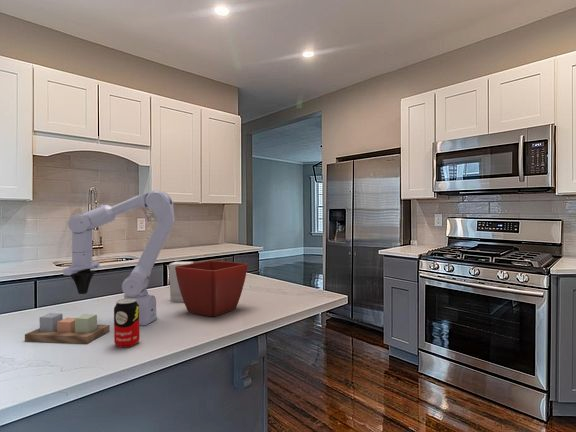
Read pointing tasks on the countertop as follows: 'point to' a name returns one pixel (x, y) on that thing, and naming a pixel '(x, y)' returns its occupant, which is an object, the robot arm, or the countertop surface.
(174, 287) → the skincare box
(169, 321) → the countertop surface
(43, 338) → the board
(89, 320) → the sage block
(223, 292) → the plant pot
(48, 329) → the slate block
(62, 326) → the terracotta block
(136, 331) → the beverage can
